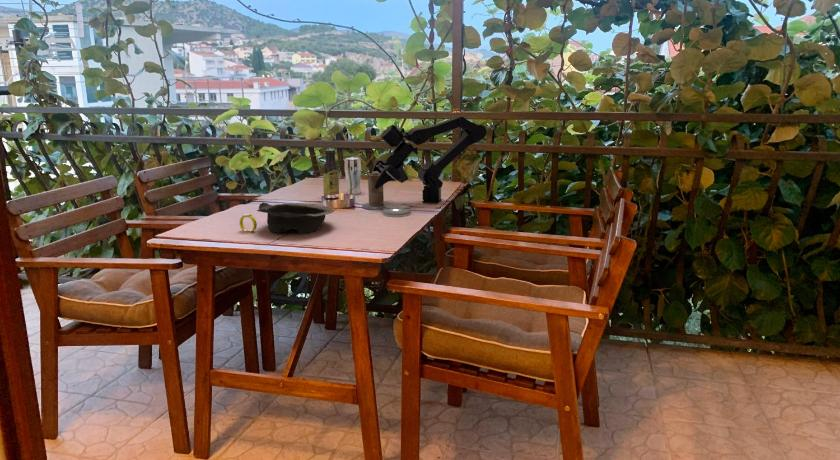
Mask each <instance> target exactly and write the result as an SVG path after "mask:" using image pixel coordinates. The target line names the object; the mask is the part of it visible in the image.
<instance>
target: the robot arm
mask: <svg viewBox="0 0 840 460" xmlns="http://www.w3.org/2000/svg"><path fill="white" fill-rule="evenodd" d="M458 128H460V129H461V130H462V131H463V133H462V135H461V137H460V138H459V139H458V140H457V141H456V142H455V143H454V144H453V145H451V146H450V147H449V148H448V149H447V150H446V151H444V153H443V154H441V155H440V156H439V157H438V158H437V159H436V160H434V161H432V162H431V161H429V160H428V161H426V162H425V163H424V164H423V165H422V166H420V167H419V168H420V169H419V170H418V175H417V176H418V179H419V180H420V181H421V182H422V185H423V189H422V203H426V204H439V203H440V202H442V201H443V198H442V187H443V185H444V182H443V181H442V180H441V179H440V177H441V175H442V172H443V171H444V169H446V167H448V166H449V165H450V164H451V163H452V162H453V161H454V160H455V159H457V157H459V156H460V155H461V154H463V152H464V151H466V149H468V147H470V146H472V145H474V144H476V143H479V142H480V141H481V140H483V139H484V138H485V137H486V136H487V128H486V126H485V125H484V124H479V123H476V122H475V123H474V122H473V121H471V120H469V119H467V118H465V117H464V116H461V115H455V116H454V117H452V118H449V119H445V120H443V121H440V122H437V123H434V124H432V125H428V126H419V127H413V128H411V129H409V130H408V131H406V132H401V131H400V129H398V128H397V126H396V125H395V124H393V123H392V124H391V125H390V126H388V127H387V128H386V129H384V130H383V131H382V132H381V134H380V136H379V137H380V138H381V140H383V141H384V142H385V143H386V144H387V145H388V146H389V147H390V148H393V147H394V150H393V151H390V152H389V153H388V154H389V155H388V156H387V157H386V159H380V158H378V159H375V160H374V162H373V166H372V169H371V173H370V174H372V172H374V171H378V173H380V176H379V178H378V180H377V182H376V185H375V188H376V189H378V188H379V187H381V186H382V185H383V186H384V185H385V184H387V183H388V182H399V183H400V184H402V183H404V182H406V181H408V180H409V177H408V175H407V173H406V171H405V168H404V166H405V161H406V160H407V159H408V158H409V157H410V155H411V154H412V153H413V154H415V155H419V152H418V151H419V150H418V148H419V147H417V146H414V145H418V146H421V145H422V144H424V143H425V142H428V141H429V140H430V139H432V138H434V137H435V136H437V135H441V134H444V133H447V132H450V131H452V130H455V129H458ZM405 140H406V141H405ZM407 141H408V142H407Z"/></svg>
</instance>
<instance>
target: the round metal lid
mask: <svg viewBox="0 0 840 460" xmlns="http://www.w3.org/2000/svg"><path fill="white" fill-rule="evenodd" d="M382 214H383V215H384V216H386V217H391V218H400V217H401V218H403V217H407V216H410V215H411V206H409V205H406V204H390V206H385V207H384V208H383V210H382Z"/></svg>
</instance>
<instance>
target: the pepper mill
mask: <svg viewBox="0 0 840 460" xmlns="http://www.w3.org/2000/svg"><path fill="white" fill-rule="evenodd" d="M371 173H372V174H371ZM371 173H367V185H368V187H367V188H368V203H369V205H370V206H371V207H379V206H384V203H385V201H384V200H385V199H384V185H382V186H381V187H379V188H378V189H376V188H375V185H376V182H377V180H378V178H379V176H380V173H378V171H374V172H372V171H371Z"/></svg>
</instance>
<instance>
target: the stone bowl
mask: <svg viewBox="0 0 840 460" xmlns="http://www.w3.org/2000/svg"><path fill="white" fill-rule="evenodd" d="M256 212H260V213H266V214H267V217H266V223H267V228H268V230H269V231H270V232H271V233H286V232H288V231H290V230H293V229H295V230H296V231H297V232H298V233H299V234H301V233H303V234H310V233H312V232H316V231H317V230H319V229H320V228H321V227H322V226H323V224H324V222H325V220H326V215H329V214H332V213H334V212H335V210H334V209H333V208H331V207H329V206H326V205H318V204H310V203H299V202H298V203H293V202H292V203H291V202H285V203H277V204H269V203H267V202H264V201H263V202H262V203H259V206H258V209H257V210H256Z"/></svg>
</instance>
